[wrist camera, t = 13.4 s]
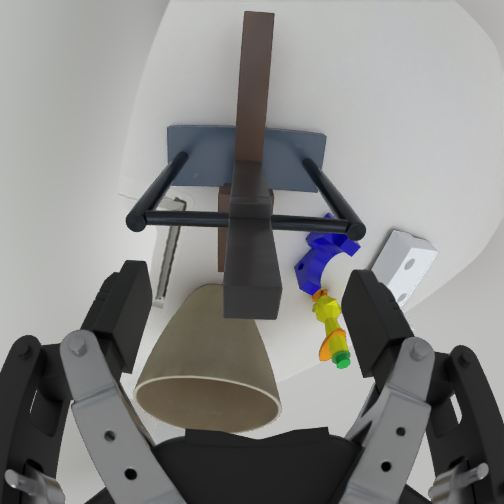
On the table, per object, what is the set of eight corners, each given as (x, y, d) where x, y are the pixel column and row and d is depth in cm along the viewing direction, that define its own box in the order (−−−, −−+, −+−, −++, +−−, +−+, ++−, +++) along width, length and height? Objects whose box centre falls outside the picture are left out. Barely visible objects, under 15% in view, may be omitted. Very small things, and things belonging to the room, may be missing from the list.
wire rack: (170, 125, 24) (103, 170, 12) (323, 133, 25) (393, 185, 13) (171, 181, 28) (120, 266, 16) (315, 188, 29) (365, 275, 16)
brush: (285, 20, 15) (356, -69, 3) (263, 254, 26) (277, 400, 14) (230, 16, 15) (208, -87, 2) (220, 252, 26) (206, 399, 14)
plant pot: (230, 238, 32) (223, 358, 18) (288, 315, 39) (305, 418, 26) (139, 289, 36) (104, 391, 22) (205, 348, 43) (197, 439, 30)
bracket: (378, 304, 40) (404, 340, 34) (346, 307, 37) (373, 348, 32) (422, 236, 33) (458, 270, 28) (393, 230, 31) (433, 269, 25)
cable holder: (328, 212, 30) (338, 230, 27) (349, 228, 31) (360, 246, 28) (284, 262, 34) (289, 283, 30) (306, 274, 35) (312, 295, 32)
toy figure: (322, 313, 39) (341, 384, 29) (299, 311, 39) (314, 385, 29) (339, 278, 36) (367, 351, 26) (314, 275, 35) (337, 351, 25)
